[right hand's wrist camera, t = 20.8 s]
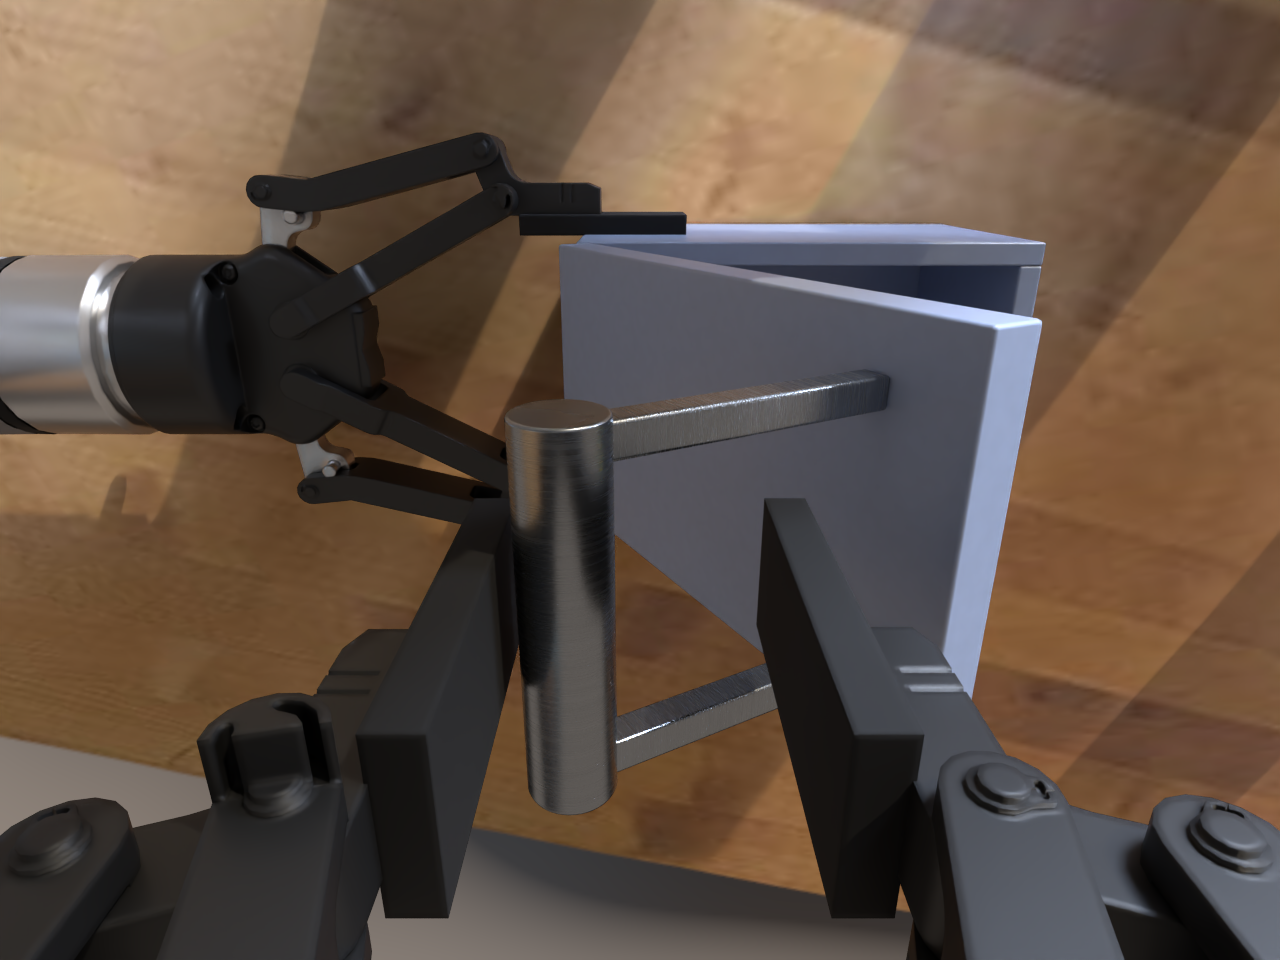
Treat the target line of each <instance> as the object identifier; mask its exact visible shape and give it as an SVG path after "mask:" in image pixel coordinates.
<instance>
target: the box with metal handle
mask: <svg viewBox="0 0 1280 960" xmlns="http://www.w3.org/2000/svg"><path fill="white" fill-rule="evenodd" d="M559 263H560V291H561V319H562V347H563V375H564V399H551V400H541V401H535V402H530V403H526V404H522V405H519V406H517V407H514V408H512V409H510V410H509V411H508V412H507V413H506V415H505V418H504V423H505V438H506V453H507V469H508V484H509V499H510V515H511V530H512V545H513V560H514V576H515V591H516V606H517V622H518V637H519V652H520V668H521V683H522V698H523V714H524V729H525V744H526V760H527V775H528V788H529V792H530V794H531V796H532V798H533V799H534V801H535V802H536V803H537V804H538V805H539V806H541V807H542V808H544V809H545V810H547V811H550V812H553V813H556V814H561V815H577V814H583V813H587V812H590V811H593V810H595V809H597V808H598V807H600V806H602V805H603V804H604V803H606V802H607V801H608V800H609V799H610V797H611V796H612V794H613V793H614V791H615V789H616V786H617V772H619V771H621V770H624V769H627V768H629V767H632V766H634V765H637V764H639V763H642V762H644V761H647V760H649V759H652V758H654V757H657V756H659V755H662V754H664V753H667V752H669V751H672V750H674V749H677V748H679V747H682V746H684V745H687V744H689V743H692V742H694V741H697V740H700V739H702V738H705V737H707V736H710V735H712V734H715V733H717V732H720V731H722V730H725V729H727V728H730V727H732V726H735V725H737V724H740V723H742V722H745V721H747V720H750V719H752V718H755V717H757V716H760V715H762V714H765V713H767V712H770V711H772V710H775V709H778V707H777V704H776V700H775V696H774V692H773V688H772V684H771V680H770V676H769V672H768V668H767V665H766V663H765V664H762V665H759V666H757V667H754V668H751V669H748V670H745V671H743V672H740V673H737V674H734V675H732V676H729V677H726V678H723V679H720V680H718V681H715V682H712V683H709V684H707V685H704V686H701V687H698V688H696V689H693V690H690V691H687V692H684V693H682V694H679V695H676V696H673V697H671V698H668V699H665V700H662V701H659V702H657V703H654V704H651V705H648V706H646V707H643V708H640V709H637V710H635V711H632V712H629V713H626V714H623V715H621V716H618V717H617V701H616V618H615V536H614V534H615V535H616V536H618V537H619V538H620V539H621V540H623V541H624V542H625V543H626V544H628V545H629V546H630V547H631V548H633V549H634V550H635V551H636V552H637V553H639V554H640V555H641V556H642V557H644V558H645V559H646V560H647V561H649V562H650V563H651V564H652V565H654V566H655V567H656V568H657V569H659V570H660V571H661V572H662V573H664V574H665V575H666V576H667V577H669V578H670V579H671V580H672V581H674V582H675V583H676V584H677V585H679V586H680V587H681V588H682V589H683V590H685V591H686V592H687V593H688V594H690V595H691V596H692V597H693V598H695V599H696V600H697V601H698V602H700V603H701V604H702V605H703V606H705V607H706V608H707V609H708V610H710V611H711V612H712V613H713V614H715V615H716V616H717V617H718V618H720V619H721V620H722V621H723V622H725V623H726V624H727V625H728V626H730V627H731V628H732V629H733V630H734V631H736V632H737V633H738V634H739V635H741V636H742V637H743V638H744V639H746V640H747V641H748V642H749V643H751V644H752V645H753V646H754V647H756V648H757V649H758V650H759V651H761V652H762V653H763V649H762V645H761V641H760V637H759V633H758V630H757V626H756V622H757V606H758V590H759V574H760V558H761V542H762V526H763V511H764V498H805V499H806V501H807V503H808V505H809V507H810V509H811V511H812V513H813V515H814V517H815V519H816V521H817V523H818V525H819V527H820V529H821V531H822V533H823V535H824V537H825V539H826V541H827V543H828V545H829V546H830V548H831V550H832V552H833V554H834V556H835V558H836V560H837V562H838V564H839V566H840V568H841V570H842V572H843V574H844V576H845V578H846V580H847V582H848V584H849V586H850V588H851V590H852V592H853V594H854V596H855V598H856V600H857V602H858V604H859V606H860V608H861V610H862V612H863V614H864V616H865V618H866V620H867V622H868V624H869V625H870V627H913V628H914V629H916V630H917V631H918V632H920V633H921V634H922V635H924V636H925V637H926V638H928V639H929V640H930V641H932V642H933V643H934V644H936V645H937V646H938V647H939V649H940V650H941V652H942V654H943V655H944V657H945V658H946V660H947V662H948V663H949V665H950V666H951V668H952V673H955V674H956V676H957V678H958V679H959V681H960V682H961V684H962V685H963V690H964V692H967V693H968V695H969V697H970V698H971V699H972V693H973V688H974V683H975V678H976V672H977V667H978V662H979V656H980V651H981V646H982V640H983V635H984V630H985V624H986V619H987V614H988V609H989V603H990V598H991V593H992V587H993V582H994V577H995V571H996V566H997V561H998V556H999V550H1000V545H1001V540H1002V534H1003V529H1004V524H1005V518H1006V513H1007V508H1008V502H1009V497H1010V492H1011V487H1012V481H1013V476H1014V471H1015V465H1016V460H1017V455H1018V449H1019V444H1020V439H1021V434H1022V428H1023V423H1024V418H1025V412H1026V407H1027V402H1028V396H1029V391H1030V386H1031V380H1032V375H1033V370H1034V365H1035V359H1036V354H1037V349H1038V343H1039V338H1040V333H1041V327H1042V321H1040V320H1039V319H1037V318H1031V317H1025V316H1019V315H1013V314H1008V313H1002V312H996V311H990V310H984V309H978V308H972V307H966V306H960V305H954V304H948V303H942V302H936V301H930V300H924V299H918V298H912V297H907V296H901V295H895V294H889V293H883V292H877V291H871V290H865V289H859V288H853V287H847V286H841V285H835V284H829V283H823V282H817V281H811V280H806V279H800V278H794V277H788V276H782V275H776V274H770V273H764V272H758V271H752V270H746V269H740V268H734V267H728V266H722V265H716V264H711V263H705V262H699V261H693V260H687V259H681V258H675V257H669V256H663V255H657V254H651V253H645V252H639V251H633V250H627V249H621V248H615V247H610V246H604V245H598V244H592V243H582V244H561V245H560V246H559ZM763 654H764V653H763Z"/></svg>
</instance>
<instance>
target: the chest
mask: <svg viewBox="0 0 1280 960" xmlns="http://www.w3.org/2000/svg"><path fill="white" fill-rule="evenodd" d="M582 243H592V244H598V245H604V246H610V247H615V248H621V249H627V250H633V251H639V252H645V253H651V254H657V255H663V256H669V257H675V258H681V259H687V260H693V261H699V262H705V263H711V264H716V265H722V266H728V267H734V268H740V269H746V270H752V271H758V272H764V273H770V274H776V275H782V276H788V277H794V278H800V279H806V280H811V281H817V282H823V283H829V284H835V285H841V286H847V287H853V288H859V289H865V290H871V291H877V292H883V293H889V294H895V295H901V296H907V297H912V298H918V299H924V300H930V301H936V302H942V303H948V304H954V305H960V306H966V307H972V308H978V309H984V310H990V311H996V312H1002V313H1008V314H1013V315H1019V316H1025V317H1031V318H1032V316H1033V311H1034V305H1035V300H1036V294H1037V289H1038V283H1039V278H1040V272H1041V267H1040V266H1041V265H1042V262H1043V257H1044V251H1045V246H1046V243H1044V242H1039V241H1033V240H1027V239H1022V238H1016V237H1010V236H1005V235H999V234H993V233H988V232H982V231H976V230H971V229H965V228H959V227H954V226H948V225H943V224H939V223H686V235H584V236H583V237H582V238H581V239H580V240H579V241H578V242H577V244H582Z"/></svg>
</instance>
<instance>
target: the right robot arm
mask: <svg viewBox="0 0 1280 960" xmlns="http://www.w3.org/2000/svg"><path fill="white" fill-rule="evenodd" d="M756 626H757V630H758V633H759V637H760V641H761V645H762V649H763V653H764V657H765V661H766V665H767V668H768V672H769V676H770V680H771V684H772V688H773V692H774V696H775V700H776V704H777V707H778V711H779V715H780V719H781V723H782V727H783V731H784V735H785V739H786V742H787V746H788V750H789V754H790V758H791V762H792V766H793V770H794V774H795V777H796V781H797V785H798V789H799V793H800V797H801V801H802V805H803V809H804V813H805V816H806V820H807V824H808V828H809V832H810V836H811V840H812V844H813V848H814V851H815V855H816V859H817V863H818V867H819V871H820V875H821V879H822V883H823V886H824V890H825V894H826V898H827V902H828V906H829V910H830V914H831V918H895V913H896V906H897V900H898V894H899V888H900V884H901V887H902V889H903V892H904V895H905V898H906V900H907V903H908V906H909V909H910V911H911V914H912V917H913V924H912V930H911V935H910V941H909V947H908V953H907V958H906V960H1280V831H1279V830H1278V829H1276V828H1275V827H1274V826H1273V825H1271V824H1270V823H1268V822H1267V821H1265V820H1263V819H1261V818H1259V817H1257V816H1256V815H1254V814H1252V813H1250V812H1248V811H1246V810H1245V809H1243V808H1241V807H1238V806H1235V805H1232V804H1229V803H1226V802H1223V801H1220V800H1217V799H1214V798H1210V797H1202V796H1194V795H1186V794H1185V795H1179V796H1174V797H1168V798H1165V799H1163V800H1162V801H1161V802H1160V803H1159V804H1158V805H1157V806H1155V807H1154V809H1153V812H1152V815H1151V818H1150V821H1149V825H1146V824H1142V823H1137V822H1133V821H1129V820H1124V819H1120V818H1116V817H1111V816H1107V815H1103V814H1098V813H1094V812H1090V811H1087V810H1084V809H1081V808H1077V807H1074V806H1071V805H1069V804H1068V802H1067V800H1066V799H1065V797H1064V796H1063V794H1062V792H1061V791H1060V789H1059V788H1058V786H1057V785H1056V784H1055V783H1054V782H1053V781H1052V780H1050V779H1049V778H1048V777H1047V776H1046V775H1045V774H1043V773H1042V772H1041V771H1040V770H1039V769H1037V768H1035V767H1033V766H1031V765H1029V764H1027V763H1025V762H1023V761H1021V760H1019V759H1017V758H1015V757H1011V756H1007V755H1006V754H1005V752H1004V751H1003V749H1002V748H1001V746H1000V744H999V743H998V741H997V740H996V738H995V736H994V735H993V733H992V732H991V730H990V728H989V727H988V725H987V724H986V722H985V721H984V719H983V717H982V716H981V714H980V713H979V711H978V709H977V708H976V706H975V705H974V703H973V701H972V700H971V698H970V697H969V695H968V693H967V692H964V690H963V685H962V684H961V682H960V681H959V679H958V678H957V676H956V674H955V673H952V668H951V666H950V665H949V663H948V662H947V660H946V658H945V657H944V655H943V654H942V652H941V650H940V649H939V647H938V646H937V645H936V644H934V643H933V642H932V641H930V640H929V639H928V638H926V637H925V636H924V635H922V634H921V633H920V632H918V631H917V630H916V629H914V628H913V627H870V625H869V624H868V622H867V620H866V618H865V616H864V614H863V612H862V610H861V608H860V606H859V604H858V602H857V600H856V598H855V596H854V594H853V592H852V590H851V588H850V586H849V584H848V582H847V580H846V578H845V576H844V574H843V572H842V570H841V568H840V566H839V564H838V562H837V560H836V558H835V556H834V554H833V552H832V550H831V548H830V546H829V545H828V543H827V541H826V539H825V537H824V535H823V533H822V531H821V529H820V527H819V525H818V523H817V521H816V519H815V517H814V515H813V513H812V511H811V509H810V507H809V505H808V503H807V501H806V499H805V498H764V511H763V526H762V542H761V558H760V574H759V590H758V606H757V622H756ZM518 645H519V637H518V622H517V606H516V591H515V576H514V560H513V545H512V530H511V515H510V499H509V498H475V499H474V501H473V503H472V505H471V507H470V509H469V511H468V513H467V515H466V517H465V519H464V521H463V523H462V525H461V527H460V529H459V531H458V533H457V535H456V537H455V539H454V541H453V543H452V545H451V546H450V548H449V550H448V552H447V554H446V556H445V558H444V560H443V562H442V564H441V566H440V568H439V570H438V572H437V574H436V576H435V578H434V580H433V582H432V584H431V586H430V588H429V590H428V592H427V594H426V596H425V598H424V600H423V602H422V604H421V606H420V608H419V610H418V612H417V614H416V616H415V618H414V620H413V622H412V624H411V625H410V627H409V629H368V630H367V631H365V632H364V633H363V634H361V635H360V636H359V637H357V638H356V639H355V640H353V641H352V642H351V643H349V644H348V645H347V646H345V647H344V648H343V649H342V650H341V652H340V654H339V655H338V657H337V658H336V660H335V662H334V663H333V665H332V666H331V668H330V670H329V674H328V675H326V676H325V678H324V679H323V681H322V682H321V684H320V686H319V687H318V689H317V694H314V695H313V696H310V695H306V694H302V693H277V694H272V695H268V696H264V697H260V698H256V699H252V700H249V701H247V702H245V703H243V704H240V705H238V706H236V707H234V708H232V709H229V710H227V711H226V712H225V713H223V714H222V715H221V716H219V717H218V718H217V719H215V720H214V721H213V722H211V723H210V724H209V725H208V726H207V727H206V729H205V730H204V731H203V733H202V734H201V736H200V737H199V738H198V740H197V745H198V749H199V753H200V756H201V760H202V764H203V768H204V772H205V776H206V780H207V784H208V788H209V791H210V795H211V799H212V806H211V808H210V809H207V810H203V811H200V812H197V813H194V814H190V815H187V816H182V817H178V818H174V819H169V820H165V821H161V822H157V823H153V824H148V825H144V826H139V827H135V828H132V825H131V821H130V818H129V815H128V812H127V811H126V810H125V809H124V808H123V807H122V806H121V805H120V804H118V803H117V802H116V801H112V800H106V799H101V798H88V799H81V800H73V801H68V802H65V803H62V804H59V805H56V806H53V807H50V808H47V809H44V810H42V811H39V812H37V813H35V814H33V815H32V816H30V817H28V818H26V819H24V820H23V821H21V822H19V823H17V824H15V825H13V826H11V827H10V828H9V829H8V830H7V831H5V832H4V833H3V834H2V835H0V960H371V955H372V949H371V943H370V936H369V930H368V924H367V921H368V918H369V915H370V912H371V910H372V907H373V904H374V901H375V899H376V896H377V893H378V890H379V888H381V894H382V900H383V906H384V912H385V918H449V914H450V910H451V906H452V902H453V898H454V894H455V890H456V886H457V883H458V879H459V875H460V871H461V867H462V863H463V859H464V855H465V851H466V848H467V844H468V839H469V836H470V832H471V828H472V824H473V820H474V816H475V813H476V809H477V805H478V801H479V797H480V793H481V789H482V785H483V781H484V777H485V774H486V770H487V766H488V762H489V758H490V754H491V750H492V746H493V742H494V739H495V735H496V731H497V727H498V723H499V719H500V715H501V711H502V707H503V704H504V700H505V696H506V692H507V688H508V684H509V680H510V676H511V672H512V668H513V665H514V661H515V657H516V653H517V649H518Z"/></svg>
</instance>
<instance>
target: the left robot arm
mask: <svg viewBox="0 0 1280 960" xmlns="http://www.w3.org/2000/svg"><path fill="white" fill-rule="evenodd" d="M475 172H476V174H477V176H478V179H479V181H480V184H481V186H482V189H483V191H482V192H480V193H479V194H477V195H475V196H474V197H472V198H470V199H468V200H467V201H465V202H463V203H462V204H460V205H458V206H456V207H455V208H453V209H451V210H449V211H448V212H446V213H444V214H443V215H441V216H439V217H437V218H436V219H434V220H432V221H431V222H429V223H427V224H425V225H424V226H422V227H420V228H419V229H417V230H415V231H413V232H412V233H410V234H408V235H406V236H405V237H403V238H401V239H400V240H398V241H396V242H394V243H393V244H391V245H389V246H388V247H386V248H384V249H382V250H381V251H379V252H377V253H376V254H374V255H372V256H370V257H369V258H367V259H365V260H363V261H362V262H360V263H358V264H356V265H354V266H352V267H350V268H348V269H346V270H344V271H343V272H341V273H339V274H338V273H337V272H335V271H334V270H332V269H331V268H329V267H328V266H326V265H325V264H323V263H322V262H320V261H319V260H317V259H316V258H314V257H313V256H311V255H310V254H308V253H307V252H306V251H304V250H303V249H301V248H300V247H298V246H296V239H297V236H298V235H299V234H300V233H301V232H302V231H304V230H310V229H313V228H315V227H317V225H318V224H319V222H320V219H321V211H323V210H332V209H340V208H345V207H349V206H353V205H357V204H361V203H364V202H368V201H372V200H375V199H379V198H383V197H386V196H390V195H394V194H397V193H401V192H405V191H408V190H412V189H416V188H419V187H423V186H427V185H431V184H434V183H438V182H442V181H445V180H449V179H453V178H456V177H460V176H464V175H467V174H471V173H475ZM246 192H247V196H248V198H249V199H250V201H251V202H252V203H253V204H255V205H256V206H258V207H260V218H261V232H262V245H260V246H258V247H256V248H255V249H253V250H252V251H250V252H249V253H247V254H243V255H149V256H146V257H143V258H141V259H139V258H136V257H133V256H130V255H29V256H12V257H0V434H152V433H155V432H158V431H161V432H163V433H168V434H257V433H266V434H271V435H275V436H278V437H280V438H282V439H284V440H286V441H288V442H291V443H294V444H296V447H297V450H298V454H299V458H300V461H301V465H302V468H303V472H304V475H305V478H304V479H303V480H302V481H301V482H300V483H299V485H298V487H297V491H298V495H299V497H300V498H301V499H302V500H303V501H305V502H307V503H310V504H318V503H328V502H338V501H348V500H353V501H357V502H362V503H366V504H371V505H376V506H380V507H385V508H389V509H394V510H398V511H403V512H407V513H412V514H417V515H421V516H426V517H430V518H435V519H439V520H444V521H449V522H453V523H458V524H462V523H463V521H464V519H465V517H466V515H467V513H468V511H469V509H470V507H471V505H472V503H473V501H474V499H475V498H509V484H508V469H507V453H506V443H505V442H503V441H500V440H498V439H496V438H494V437H492V436H490V435H488V434H486V433H484V432H482V431H480V430H478V429H475V428H473V427H471V426H469V425H467V424H465V423H463V422H461V421H459V420H457V419H455V418H453V417H450V416H448V415H446V414H444V413H442V412H440V411H438V410H436V409H434V408H432V407H430V406H428V405H425V404H423V403H421V402H419V401H417V400H415V399H413V398H411V397H409V396H408V395H407V394H406V393H405V391H404V390H402V389H401V388H399V387H397V386H395V385H393V384H391V383H389V382H386V381H384V380H382V378H383V377H384V376H385V369H384V361H383V357H382V354H381V352H380V349H379V347H378V344H377V333H378V327H379V319H378V311H377V306H372V303H371V301H370V300H369V298H368V297H370V296H371V295H373V294H375V293H377V292H378V291H380V290H382V289H384V288H385V287H387V286H389V285H391V284H392V283H394V282H395V281H397V280H399V279H400V278H402V277H404V276H406V275H407V274H409V273H411V272H413V271H414V270H416V269H418V268H420V267H421V266H423V265H425V264H427V263H428V262H430V261H432V260H434V259H435V258H437V257H439V256H441V255H442V254H444V253H446V252H448V251H449V250H451V249H453V248H455V247H456V246H458V245H460V244H462V243H463V242H465V241H467V240H469V239H470V238H472V237H474V236H476V235H477V234H479V233H481V232H483V231H484V230H486V229H488V228H490V227H491V226H493V225H495V224H497V223H498V222H500V221H502V220H504V219H505V218H507V217H509V216H519V226H520V235H686V222H687V215H686V214H684V213H683V212H602V205H601V188H600V187H598V186H595V185H593V184H591V183H530V182H526V181H523V180H521V179H520V178H519V177H518V176H517V175H516V174H515V173H514V171H513V169H512V166H511V164H510V161H509V159H508V156H507V154H506V147H505V145H504V143H503V141H502V140H501V139H499V138H498V137H496V136H493V135H490V134H486V133H473V134H470V135H466V136H463V137H459V138H455V139H452V140H448V141H444V142H441V143H437V144H434V145H430V146H426V147H423V148H419V149H415V150H412V151H408V152H405V153H401V154H397V155H394V156H390V157H386V158H383V159H379V160H376V161H372V162H368V163H365V164H361V165H358V166H354V167H350V168H347V169H343V170H339V171H336V172H332V173H329V174H325V175H321V176H318V177H314V178H310V177H301V176H292V175H256V176H253V177H252V178H250V179H249V181H248V182H247V186H246ZM341 421H343V422H345V423H347V424H349V425H351V426H353V427H356V428H358V429H360V430H362V431H364V432H366V433H369V434H373V435H384V436H386V437H388V438H390V439H393V440H395V441H397V442H399V443H401V444H403V445H405V446H408V447H410V448H412V449H414V450H416V451H418V452H420V453H423V454H425V455H427V456H429V457H431V458H433V459H435V460H438V461H440V462H442V463H444V464H446V465H448V466H450V467H452V468H455V469H457V470H459V471H461V472H463V473H465V474H467V475H470V476H472V477H474V478H476V479H478V480H480V481H482V482H479V481H475V480H470V479H466V478H461V477H457V476H453V475H448V474H444V473H439V472H435V471H430V470H426V469H422V468H417V467H413V466H408V465H404V464H399V463H395V462H390V461H386V460H381V459H376V458H366V457H356V458H354V456H353V452H352V451H351V450H350V449H347V448H343V447H336V446H334V445H332V444H331V443H329V442H328V440H327V439H326V437H325V434H326V433H327V432H328V431H330V430H331V429H332V428H333V427H335V426H336V425H337V424H339V423H340V422H341ZM484 482H485V483H484Z"/></svg>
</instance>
